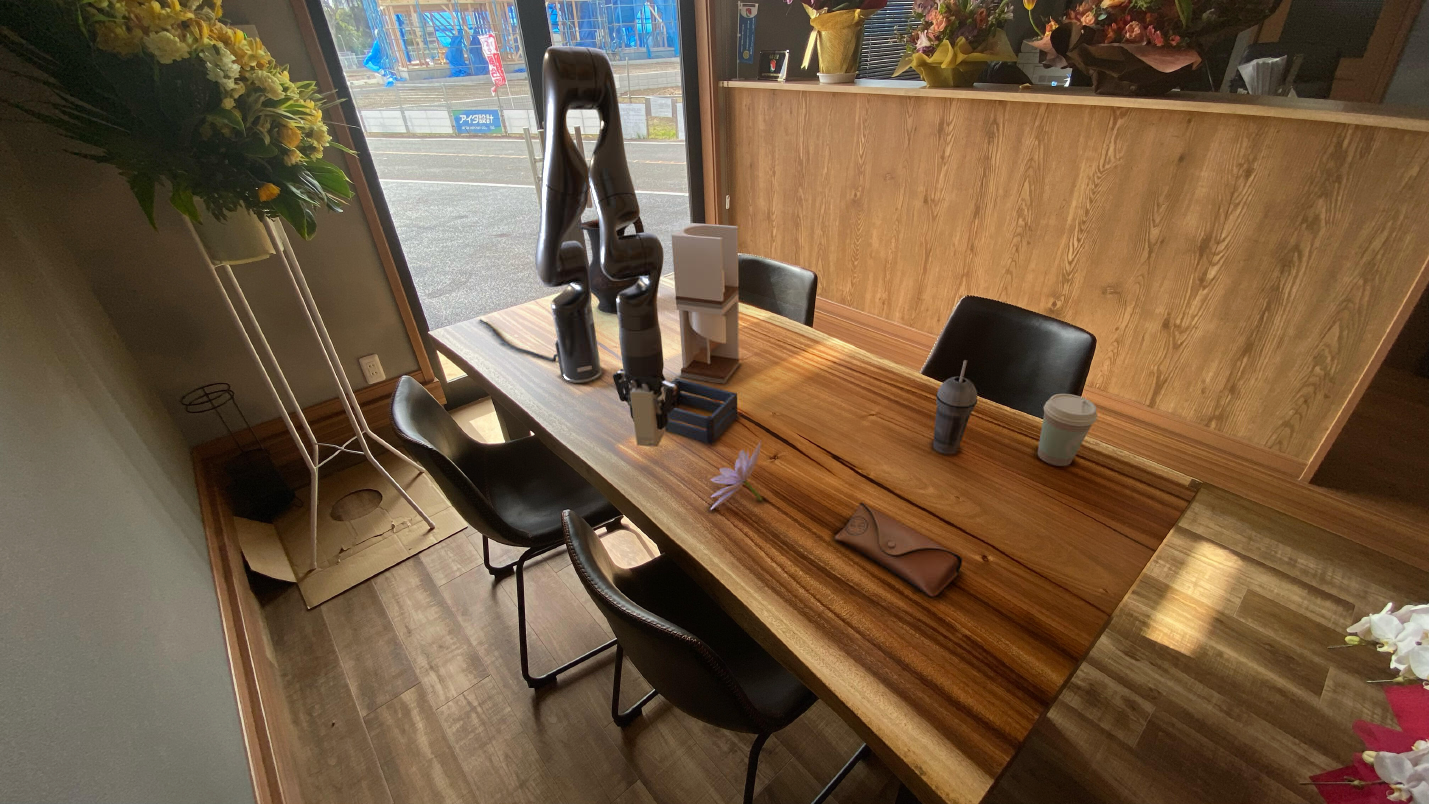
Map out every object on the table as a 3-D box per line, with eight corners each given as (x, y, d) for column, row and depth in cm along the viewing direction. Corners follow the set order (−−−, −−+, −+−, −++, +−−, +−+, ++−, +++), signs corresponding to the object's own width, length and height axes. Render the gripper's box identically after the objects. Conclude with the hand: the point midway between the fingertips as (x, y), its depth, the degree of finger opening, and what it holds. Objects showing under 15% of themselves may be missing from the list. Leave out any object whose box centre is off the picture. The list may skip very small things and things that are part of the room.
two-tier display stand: (681, 376, 142) (671, 235, 124) (698, 358, 150) (691, 223, 132) (724, 383, 138) (720, 239, 120) (739, 364, 146) (737, 226, 128)
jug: (576, 318, 176) (560, 219, 160) (596, 296, 191) (583, 204, 176) (642, 321, 172) (632, 219, 157) (658, 298, 188) (650, 204, 172)
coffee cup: (1060, 476, 105) (1080, 421, 99) (1019, 452, 111) (1036, 399, 105) (1089, 462, 108) (1110, 408, 102) (1048, 439, 115) (1066, 387, 109)
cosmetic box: (657, 448, 111) (652, 394, 105) (635, 445, 112) (629, 392, 106) (666, 430, 116) (661, 378, 110) (645, 428, 117) (639, 376, 111)
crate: (648, 425, 123) (646, 402, 120) (677, 400, 132) (675, 378, 129) (711, 444, 117) (710, 419, 114) (737, 416, 125) (737, 393, 122)
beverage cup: (964, 440, 115) (986, 351, 105) (965, 461, 110) (988, 369, 99) (926, 434, 117) (944, 346, 107) (925, 454, 112) (943, 364, 101)
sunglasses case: (830, 538, 93) (845, 501, 92) (849, 534, 98) (863, 499, 97) (935, 600, 82) (954, 559, 81) (950, 592, 87) (967, 553, 86)
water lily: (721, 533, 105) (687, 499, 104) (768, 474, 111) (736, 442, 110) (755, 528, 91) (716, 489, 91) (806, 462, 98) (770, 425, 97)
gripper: (685, 345, 103) (690, 423, 112) (621, 331, 109) (631, 406, 118) (663, 362, 98) (670, 443, 107) (597, 346, 104) (608, 424, 113)
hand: (649, 423), depth 112 cm, fingers closed on cosmetic box, 5 cm apart
